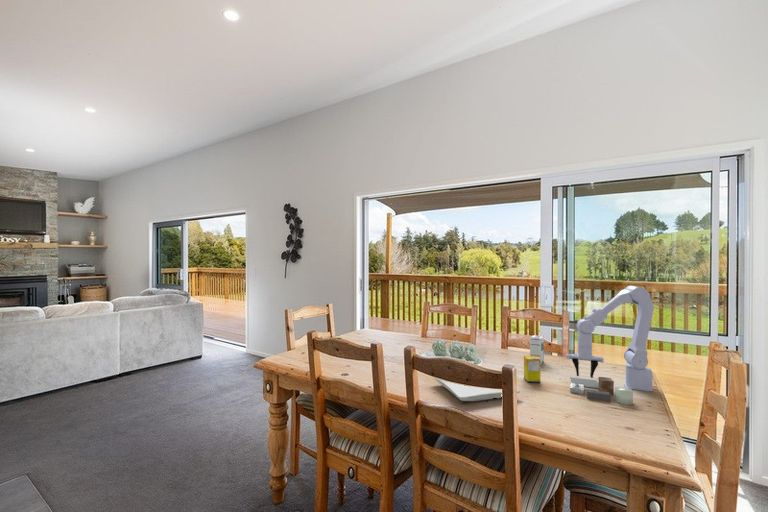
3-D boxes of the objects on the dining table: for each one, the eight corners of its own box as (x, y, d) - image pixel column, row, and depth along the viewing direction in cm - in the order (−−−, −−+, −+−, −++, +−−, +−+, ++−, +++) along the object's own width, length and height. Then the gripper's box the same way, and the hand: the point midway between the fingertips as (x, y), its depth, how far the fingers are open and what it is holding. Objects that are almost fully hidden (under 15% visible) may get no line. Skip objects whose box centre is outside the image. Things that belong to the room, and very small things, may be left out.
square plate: (460, 406, 143) (460, 396, 143) (431, 383, 170) (431, 374, 170) (520, 399, 151) (520, 389, 151) (484, 377, 177) (484, 369, 177)
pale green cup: (630, 400, 149) (631, 387, 149) (634, 406, 144) (634, 393, 144) (613, 398, 152) (613, 385, 152) (616, 403, 146) (616, 390, 146)
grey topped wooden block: (570, 388, 164) (570, 382, 164) (583, 390, 161) (583, 384, 161) (570, 393, 158) (570, 387, 158) (583, 395, 155) (583, 389, 155)
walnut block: (610, 391, 159) (610, 377, 158) (613, 395, 154) (613, 381, 154) (598, 390, 160) (598, 376, 160) (601, 394, 155) (601, 380, 155)
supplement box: (536, 378, 175) (536, 355, 174) (540, 383, 169) (540, 359, 169) (523, 378, 175) (523, 355, 175) (527, 382, 169) (527, 358, 169)
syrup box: (541, 365, 195) (541, 338, 195) (529, 363, 198) (529, 336, 198) (544, 363, 199) (544, 336, 199) (532, 361, 203) (532, 334, 203)
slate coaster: (596, 381, 171) (596, 380, 171) (600, 389, 161) (600, 388, 161) (570, 378, 175) (570, 377, 175) (572, 386, 165) (572, 384, 165)
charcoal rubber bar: (608, 399, 151) (608, 392, 151) (610, 402, 148) (610, 394, 148) (586, 396, 154) (586, 389, 154) (587, 399, 151) (587, 391, 151)
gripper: (601, 345, 169) (601, 375, 169) (566, 342, 174) (566, 371, 175) (604, 349, 162) (604, 380, 162) (567, 346, 168) (567, 376, 168)
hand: (584, 376), depth 168 cm, fingers open, 5 cm apart
